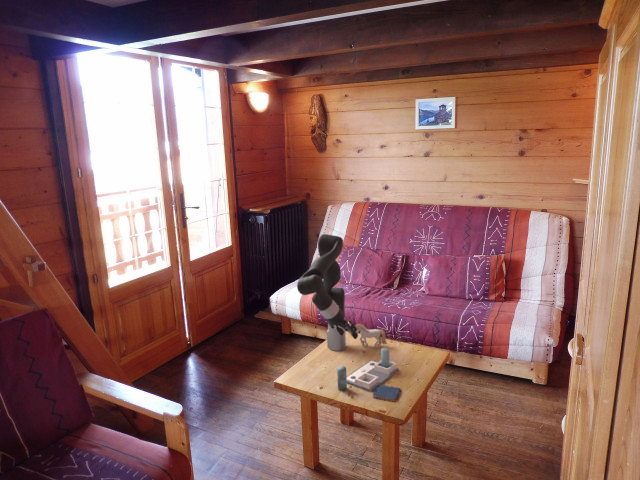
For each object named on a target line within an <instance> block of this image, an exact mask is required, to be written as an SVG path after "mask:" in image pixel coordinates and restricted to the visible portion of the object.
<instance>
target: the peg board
mask: <svg viewBox="0 0 640 480" xmlns="http://www.w3.org/2000/svg"><path fill="white" fill-rule="evenodd" d="M399 371H400V368H398V367H397V363H396V362H393V361H391V360H390V348H388V347H382V348H381V349H380V361H376V360H372V359H370V360H369V361H367V362H365V363H364V364H363V365H361V366H359V367H358V368H356V369H355V370H354V371H353V372H351V373H350V374H348V375H346V376H347V385H350V386H353V387H354V388H355V387H356V388H358V389H361V390H364V391H367V392H369V393H372V392H374V391H376V389H378V388H377V387H378V385H383V384H384V383H385V382H386V381H387V380H389V379H390V378H392V377H393V376H394V375H395V374H396V373H397V372H399Z"/></svg>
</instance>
